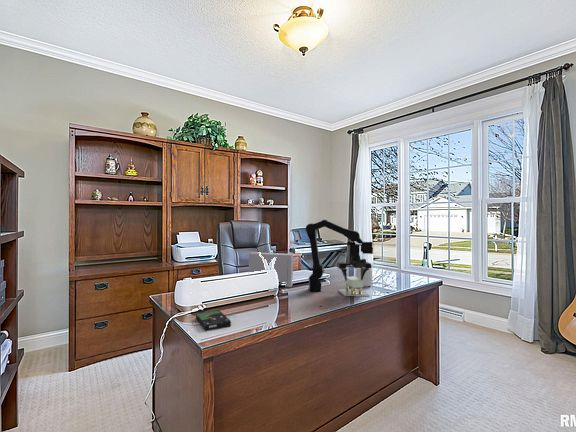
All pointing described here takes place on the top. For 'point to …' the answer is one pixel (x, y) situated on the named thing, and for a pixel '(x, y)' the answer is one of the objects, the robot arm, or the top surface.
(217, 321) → the disk drive
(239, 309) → the top surface
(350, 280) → the pale green block
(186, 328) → the top surface
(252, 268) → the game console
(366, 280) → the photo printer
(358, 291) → the chassis
